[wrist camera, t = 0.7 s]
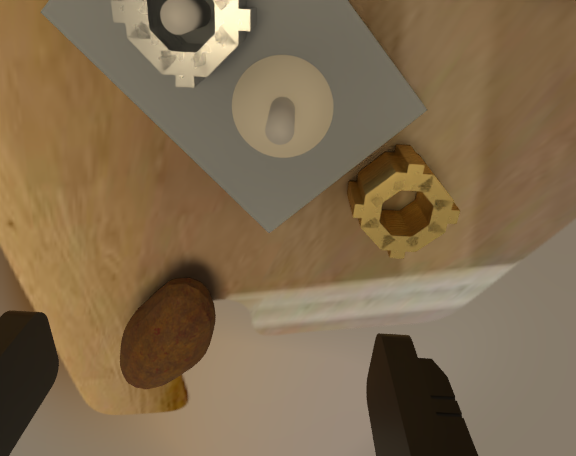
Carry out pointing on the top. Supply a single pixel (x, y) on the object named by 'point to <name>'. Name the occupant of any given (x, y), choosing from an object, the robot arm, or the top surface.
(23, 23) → the top surface
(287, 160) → the pegboard
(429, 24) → the top surface
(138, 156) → the top surface
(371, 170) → the brass gear
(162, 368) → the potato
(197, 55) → the steel gear
